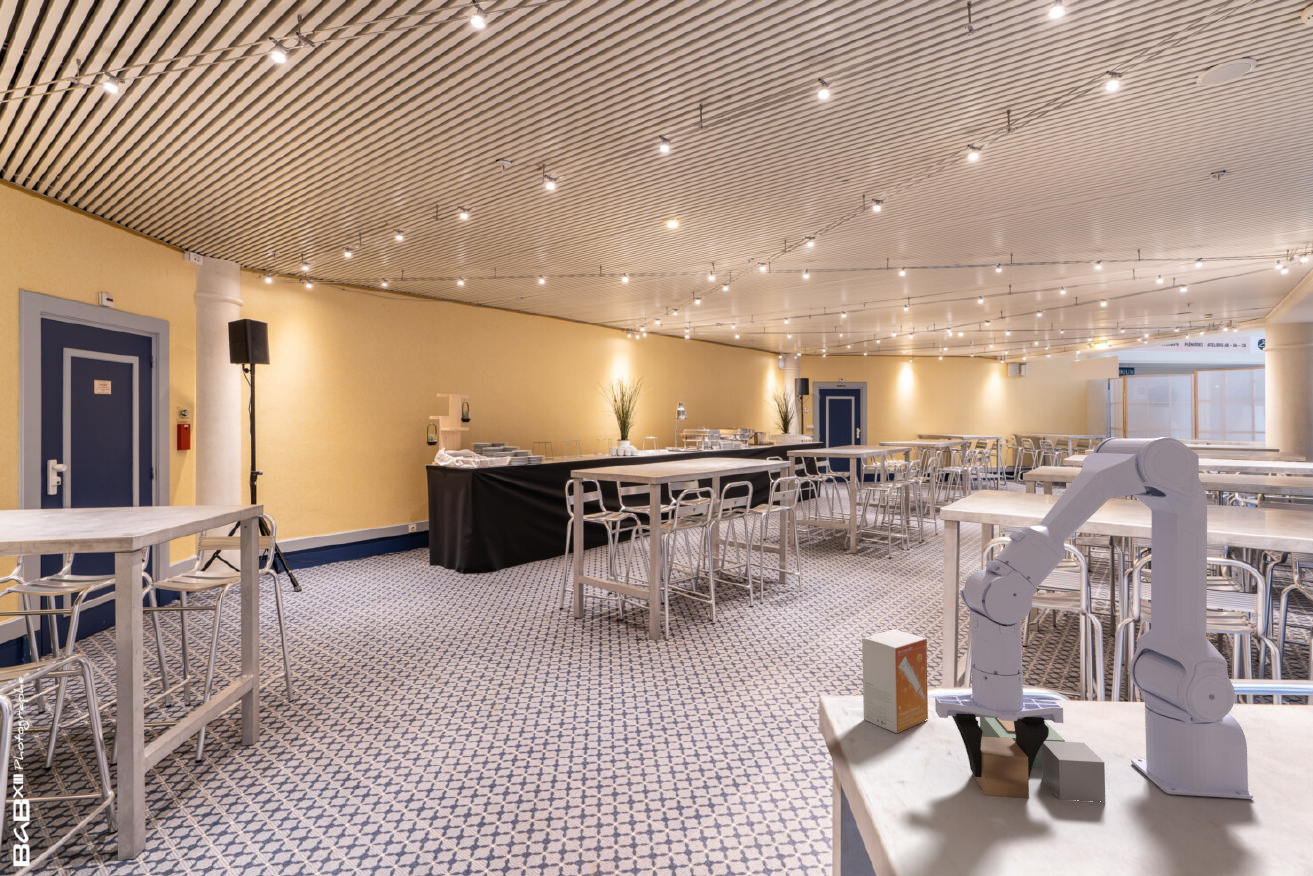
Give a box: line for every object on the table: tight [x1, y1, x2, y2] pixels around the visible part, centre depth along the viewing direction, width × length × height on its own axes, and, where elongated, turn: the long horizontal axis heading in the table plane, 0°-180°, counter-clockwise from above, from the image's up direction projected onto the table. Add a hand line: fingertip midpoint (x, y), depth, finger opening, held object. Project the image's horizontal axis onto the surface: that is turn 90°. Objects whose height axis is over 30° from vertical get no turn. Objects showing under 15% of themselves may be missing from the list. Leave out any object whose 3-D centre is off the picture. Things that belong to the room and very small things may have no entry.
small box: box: [861, 628, 929, 734], centre depth 100 cm, size 8×6×13 cm
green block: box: [979, 717, 1066, 768], centre depth 89 cm, size 8×8×4 cm
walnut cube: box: [971, 737, 1030, 799], centre depth 81 cm, size 5×5×5 cm
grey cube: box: [1041, 741, 1106, 803], centre depth 80 cm, size 5×5×5 cm
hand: (999, 774), depth 81 cm, fingers closed on walnut cube, 5 cm apart
